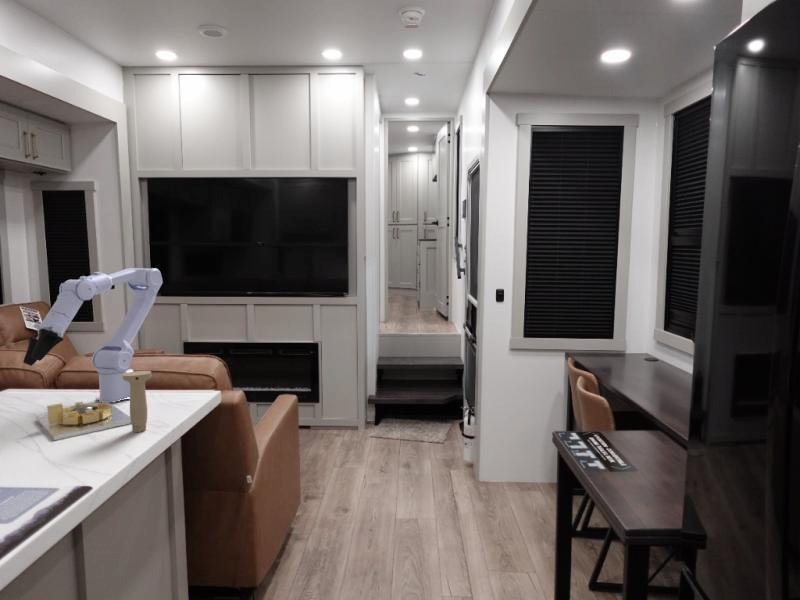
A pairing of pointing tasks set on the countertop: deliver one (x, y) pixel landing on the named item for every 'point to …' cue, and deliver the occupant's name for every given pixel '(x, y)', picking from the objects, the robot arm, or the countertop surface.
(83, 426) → the plate
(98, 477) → the countertop surface
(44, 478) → the countertop surface
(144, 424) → the handle
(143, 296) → the robot arm
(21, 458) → the countertop surface
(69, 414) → the gold blocky ring
